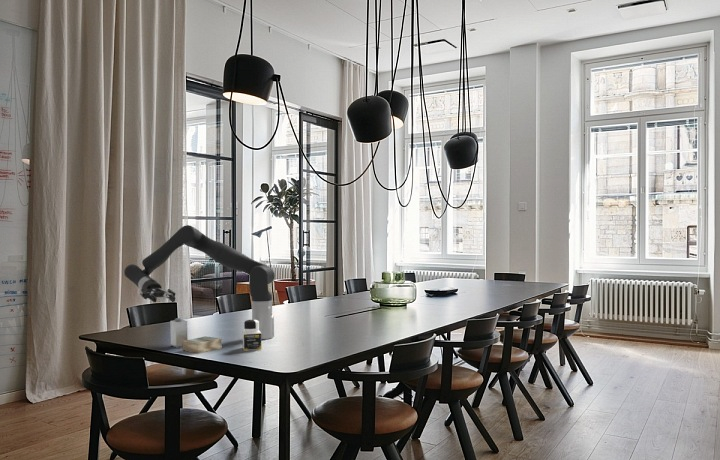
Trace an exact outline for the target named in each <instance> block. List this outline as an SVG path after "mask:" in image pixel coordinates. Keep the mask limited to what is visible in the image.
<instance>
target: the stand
mask: <svg viewBox="0 0 720 460" xmlns="http://www.w3.org/2000/svg"><path fill="white" fill-rule="evenodd" d="M222 346H223V345H222V338H220V337H214V336H213V337H211V336H201V337H195V338H191V339H187V340H186V341H183V348H182V351H183V350H186V351H185V352H187V351H191V352H190V353H193V352H196V353H195V354H201V352H202V353H206V351H207V352H211V351H216V350H220V349H222Z"/></svg>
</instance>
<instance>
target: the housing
mask: <svg viewBox="0 0 720 460" xmlns="http://www.w3.org/2000/svg"><path fill="white" fill-rule="evenodd" d="M169 324H170V347H171V346H173V347H172V348H174V347H176V348H175V349H180V348H179V347H183V341H186V340H188V320H186V319H185V320H184V319H183V318H182V317H178V318H177V317H176V318H174V320H170V323H169Z"/></svg>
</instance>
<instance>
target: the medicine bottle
mask: <svg viewBox="0 0 720 460" xmlns="http://www.w3.org/2000/svg"><path fill="white" fill-rule="evenodd" d="M243 326H244V327H243V328H244V330H243V331H242V349H243V351H244V352H248V351H261V350H262V339H261V332H260V330H259V321H258V320H252V319H247V320H244V325H243Z"/></svg>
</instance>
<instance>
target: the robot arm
mask: <svg viewBox="0 0 720 460" xmlns="http://www.w3.org/2000/svg"><path fill="white" fill-rule="evenodd" d="M183 246H186V247H189V248H191V249H192V248H193V249H194V250H197V251H200V252H202V253H204V254H206V255H207V256H208V257H209V258H210V259H212V261H213V260H214V261H215V262H216V263H218V264H220V265H222V267H223V266H224V267H226V268H228V269H231V270H234V271H239V272H242V273H245V274H247V275H248V282H249V283H248V285H249V286H248V287H249V295H250V298H251V320H258V321H259V330H260V332H261V340H269V339H272V338H274V337H275V318H274V317H275V316H273V295H272V293H271V292H270V290H269V285H270V284H271V283H273V281H274V280H275V277H276V274H275V272H274V269H272V267H270V266H269V265H267V264H264V263H261V262H259V261H257V260H254V259H252V258H250V257H249V256H247V255H246V254H244V253H242V252H241V251H238V250H237V249H235V248H233V247H231V246H229V245H228V244H226V243H223V242H220V241H216V240H213V239H212V238H210V237H209V236H207V235H205V234H204V233H203V232H201V231H200V230H199V229H197V228H196V227H194V226H192V225H189V224H186V225H183V226H182V227H180V228H179V229H178V230H177V231H175V233H174V234H173V235H172V236H170V237H169V239H168V240H166V242H164V243H163V245H160V246H159V248H157V249H156V250H155V251H154V252H152V253H151V254H149V255H148V256H147V257H144V259H142V262H141V264H142V266H143V267H144V269H142V268H140V266H138V265H136V264H129V265H127V266H126V267H125V268H124V271H123V273H124V276H125V277H126V278H127V279H128V280H129V281H131V282H132V283H133V284H134V285H135V286H137V288H138V289H139V291H140V296H141V297H142V298H143V299H145V300H147V299H148V300H151V302H153V303H156V302H157V299H158V298H161V299H164V300H166V299H167V300H169V301H171V302H172V303H175V302H176V295H177V293H176V292H174V290H172V289H170V288H168V289H167V290H165V289H163V288H162V285H161V284H160V283H159V282H158V281H157V280H155V279H154V278H153V277H151V274H153V272H154V271H155V270H156V269H158V268H160V266H162V265H164V263H166V262H167V261H168V259H169V258H170V256H171V255H173V253H174V252H175V251H177V250H178V248H180V247H183Z"/></svg>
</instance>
